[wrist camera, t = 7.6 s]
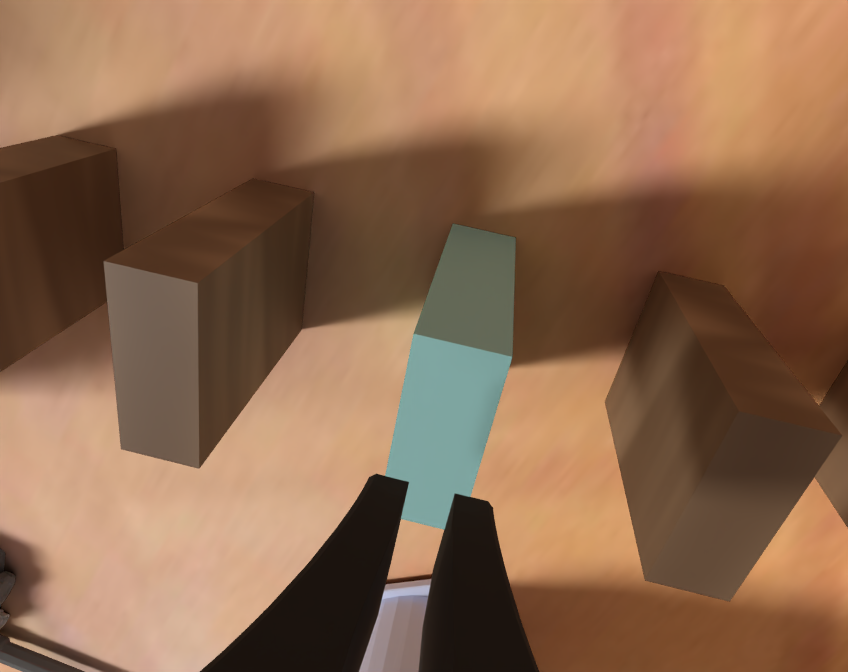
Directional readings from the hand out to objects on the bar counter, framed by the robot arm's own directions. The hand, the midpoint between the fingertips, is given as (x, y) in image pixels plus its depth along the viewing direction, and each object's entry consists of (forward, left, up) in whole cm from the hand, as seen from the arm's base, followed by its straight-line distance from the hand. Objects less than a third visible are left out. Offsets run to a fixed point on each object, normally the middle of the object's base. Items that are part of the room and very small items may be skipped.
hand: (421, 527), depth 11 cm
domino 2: (+3, +6, -10) cm, 12 cm away
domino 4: (-3, -6, -10) cm, 12 cm away
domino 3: (0, 0, -10) cm, 10 cm away
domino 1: (+6, +11, -10) cm, 16 cm away
